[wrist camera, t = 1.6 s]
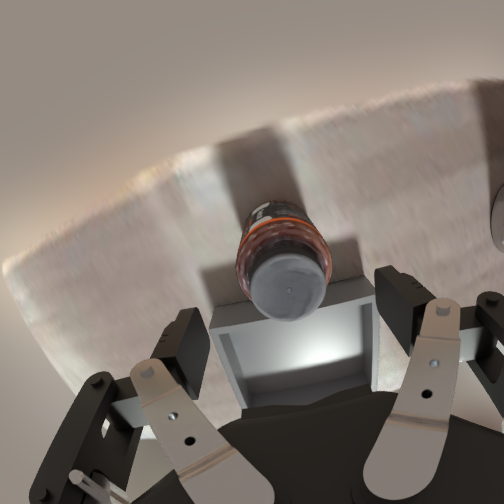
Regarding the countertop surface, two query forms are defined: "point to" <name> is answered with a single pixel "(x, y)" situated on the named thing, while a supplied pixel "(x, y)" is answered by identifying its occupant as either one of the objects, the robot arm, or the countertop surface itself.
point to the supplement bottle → (283, 262)
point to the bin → (300, 348)
